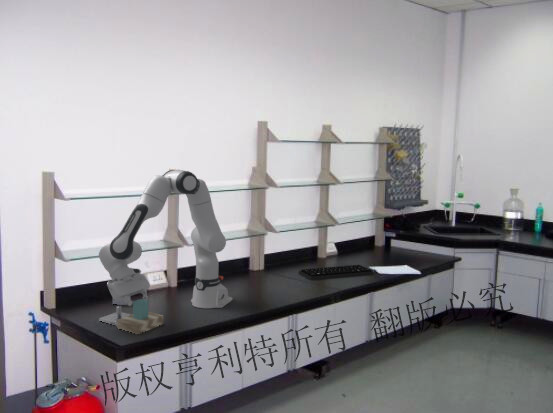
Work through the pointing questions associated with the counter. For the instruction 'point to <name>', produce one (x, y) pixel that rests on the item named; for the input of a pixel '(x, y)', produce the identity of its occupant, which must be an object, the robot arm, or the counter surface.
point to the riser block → (140, 323)
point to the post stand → (114, 316)
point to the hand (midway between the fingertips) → (139, 302)
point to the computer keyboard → (335, 272)
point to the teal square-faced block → (140, 309)
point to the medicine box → (120, 302)
